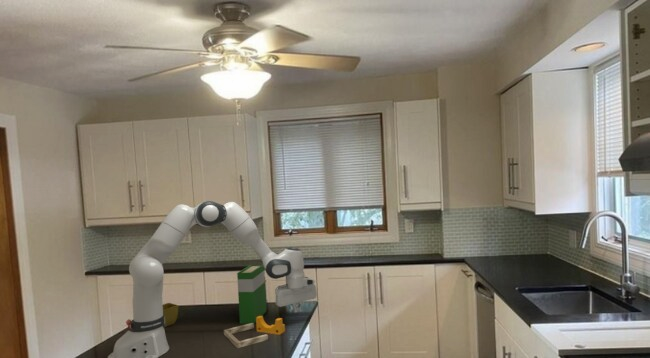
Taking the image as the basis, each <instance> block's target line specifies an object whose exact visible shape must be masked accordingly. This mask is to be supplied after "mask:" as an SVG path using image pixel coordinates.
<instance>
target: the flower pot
mask: <svg viewBox="0 0 650 358" xmlns="http://www.w3.org/2000/svg"><path fill="white" fill-rule="evenodd" d="M163 314H164V317H165V328H167V327H169V326H172V325H174V324H175V323H176V321H177V319H178V317H179V316H178V314H179V305H178V304H175V303H172V302H166V303H164V304H163Z"/></svg>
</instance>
